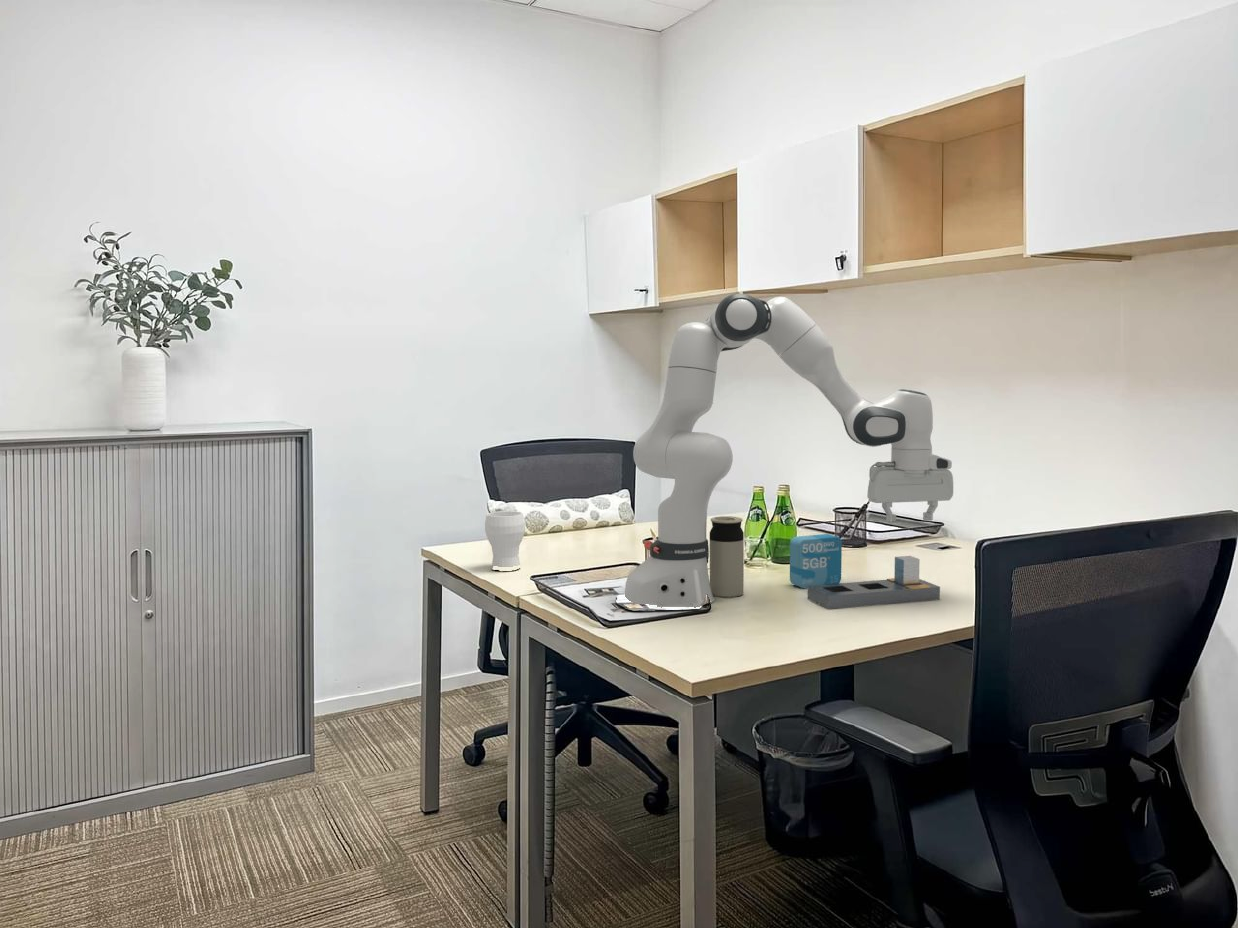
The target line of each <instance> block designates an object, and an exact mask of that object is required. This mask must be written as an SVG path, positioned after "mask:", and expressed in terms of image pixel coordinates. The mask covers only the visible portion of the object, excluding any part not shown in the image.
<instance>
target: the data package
mask: <svg viewBox="0 0 1238 928" xmlns="http://www.w3.org/2000/svg"><path fill="white" fill-rule="evenodd" d="M842 547H843V545H842V539H841V538H840V537H838V536H836V535H833V534H829V533H823V534H821V533H820V534H813V535H812V534H810V535H799V536H798V535H797V536H794V537H792V538H791V539H790V542H789V581H790V583H791V585H793V586H796V587H799V588H801V589H808V586H812V585H825V584H838V583H841V581H842V555H843V554H842V549H843V548H842Z"/></svg>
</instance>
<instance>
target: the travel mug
mask: <svg viewBox="0 0 1238 928" xmlns="http://www.w3.org/2000/svg"><path fill="white" fill-rule="evenodd" d="M710 522H711V524H712V525H711V529H710V530H709V582H710V587H711V592H712V595H713V597H717V598H736V597H737V598H738V597H740V596H742V595H743V594H744V592H745V591H744V590H745V589H744V587H745V586H744V585H745V583H744V582H745V578H744V575H745V573H744V571H745V569H744V565H745V563H744V558H745V557H744V555H745V554H744V545H745V544H744V543H745V541H744V540H745V539H744V536H745V534H744V533H745V532H744V530H743V528H742V527H741V526H742V522H743V518H742V517H739V516H733V515H732V516H728V515H727V516H725V515H724V516H723V515H722V516H721V515H720V516H714V517H713V516H712V517H711V518H710Z"/></svg>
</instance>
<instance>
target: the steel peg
mask: <svg viewBox="0 0 1238 928" xmlns="http://www.w3.org/2000/svg"><path fill="white" fill-rule="evenodd" d="M920 560H921V559H920V558H918V557H915V556H912V555H904V556H903V555H902V556H894V577H893V578H894V583H896V584H899V585H901V586H904V587H905V586H910V585H919V579H920V562H921V561H920Z"/></svg>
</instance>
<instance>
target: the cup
mask: <svg viewBox="0 0 1238 928" xmlns="http://www.w3.org/2000/svg"><path fill="white" fill-rule="evenodd" d="M525 532H526V521H525V517H524V514H523V512H521V511H515V510H501V511H492V512H489V513H486V517H485V522H484V533H485V534H486V537H487V541H488V543H489V544H490V546H491V550H492V563H491V566H492V565H493V566H498V567H513V566H518V565H520V566H521V562H520V557H519V553H520V552H519V551H520V545H521V543H522V541H523V539H524V535H525Z"/></svg>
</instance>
